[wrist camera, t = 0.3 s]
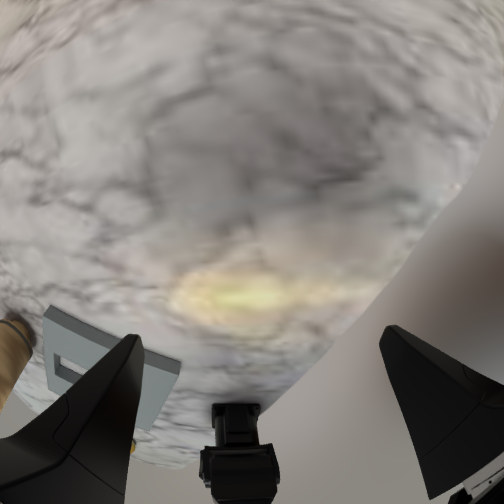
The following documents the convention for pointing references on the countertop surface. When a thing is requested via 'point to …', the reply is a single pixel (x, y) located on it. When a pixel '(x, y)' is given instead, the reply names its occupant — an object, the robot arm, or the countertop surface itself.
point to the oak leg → (12, 355)
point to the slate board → (91, 351)
